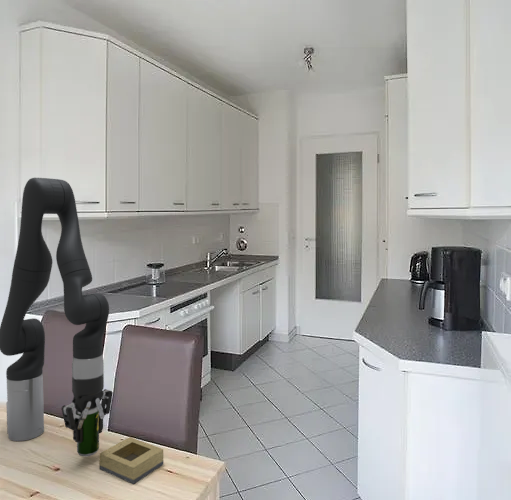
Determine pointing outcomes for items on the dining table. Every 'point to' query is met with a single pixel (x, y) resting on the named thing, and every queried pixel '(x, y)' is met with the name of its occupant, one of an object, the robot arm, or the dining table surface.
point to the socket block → (131, 460)
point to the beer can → (89, 433)
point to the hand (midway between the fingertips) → (88, 436)
